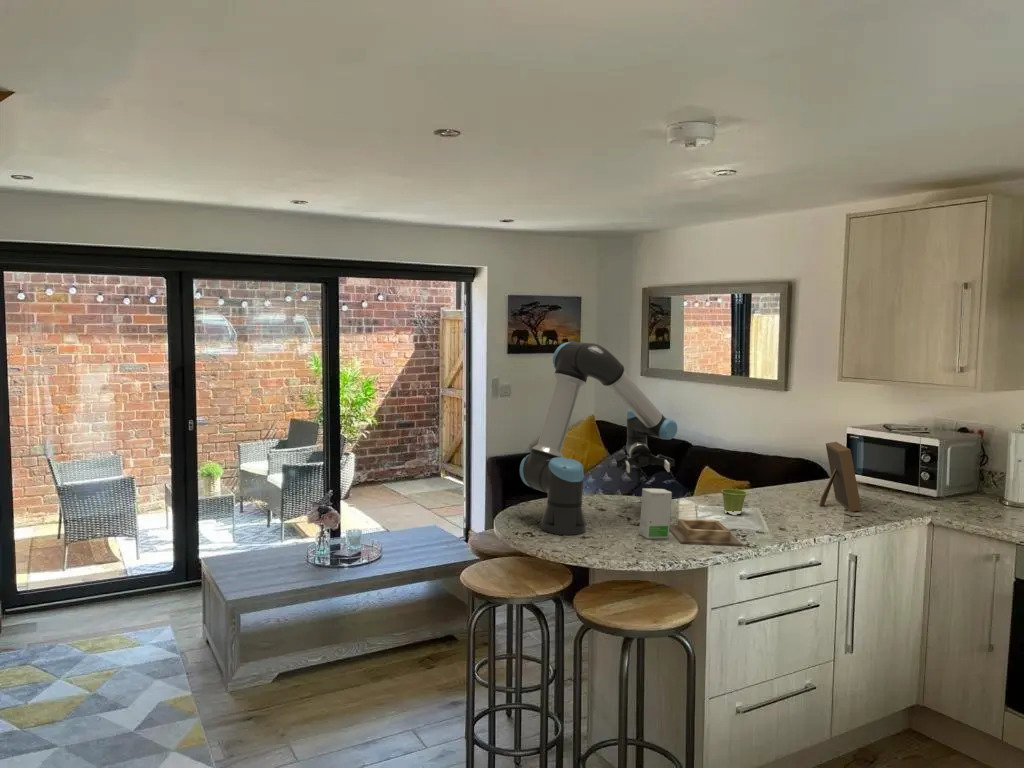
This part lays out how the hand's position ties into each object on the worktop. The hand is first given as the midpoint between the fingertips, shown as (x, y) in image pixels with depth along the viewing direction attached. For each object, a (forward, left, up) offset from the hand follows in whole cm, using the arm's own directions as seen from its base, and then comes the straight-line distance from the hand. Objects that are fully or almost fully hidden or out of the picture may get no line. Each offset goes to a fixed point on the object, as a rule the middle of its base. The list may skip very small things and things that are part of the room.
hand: (648, 468), depth 257 cm
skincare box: (+1, -8, -21) cm, 23 cm away
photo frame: (+89, +51, -21) cm, 105 cm away
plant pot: (+39, +28, -21) cm, 53 cm away
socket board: (+18, -6, -21) cm, 29 cm away
